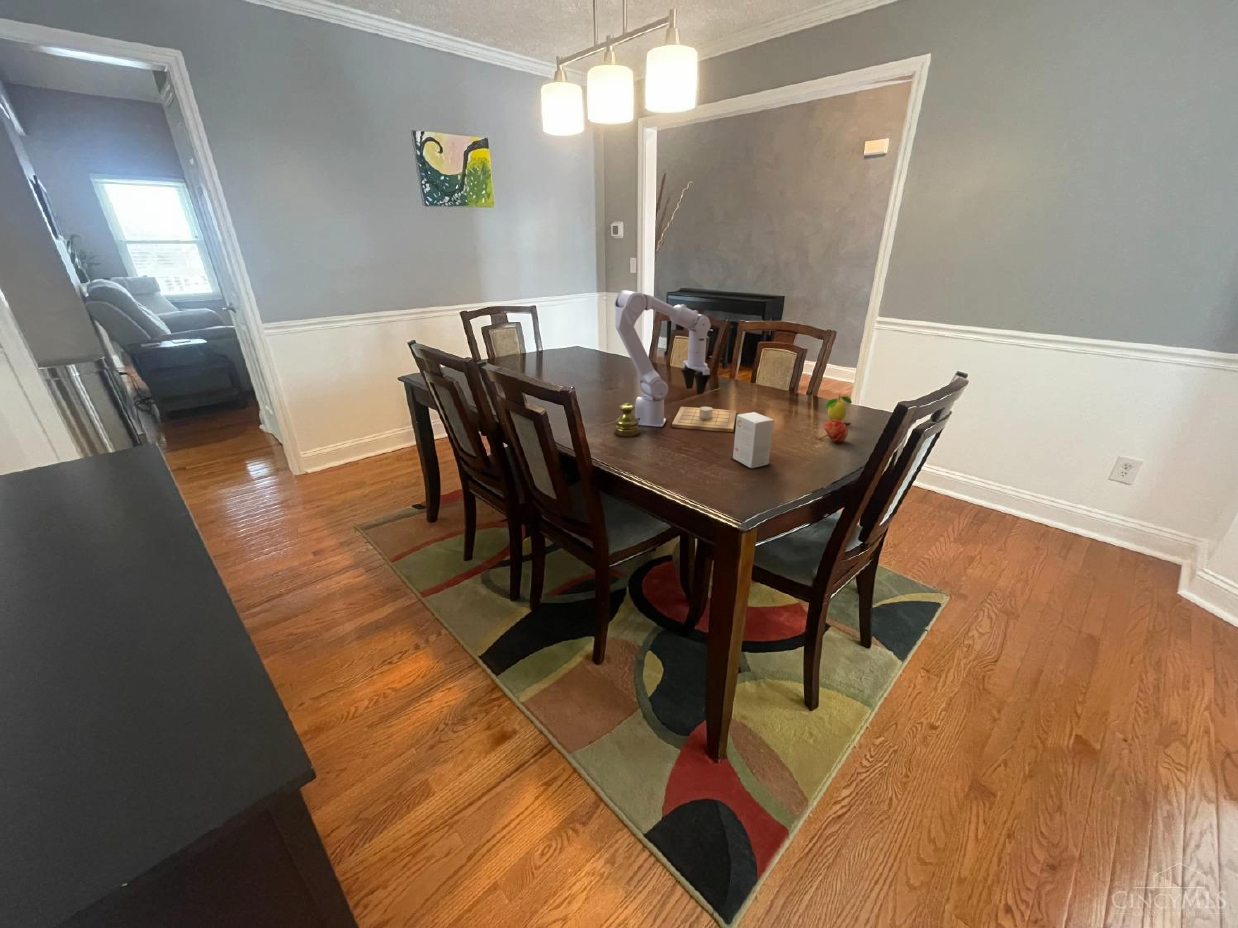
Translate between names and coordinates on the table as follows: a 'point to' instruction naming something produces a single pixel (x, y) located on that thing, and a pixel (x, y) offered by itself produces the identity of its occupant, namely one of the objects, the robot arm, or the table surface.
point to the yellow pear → (837, 408)
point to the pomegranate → (836, 430)
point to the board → (705, 420)
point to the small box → (753, 439)
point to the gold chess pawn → (627, 421)
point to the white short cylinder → (705, 412)
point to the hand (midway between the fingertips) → (694, 391)
